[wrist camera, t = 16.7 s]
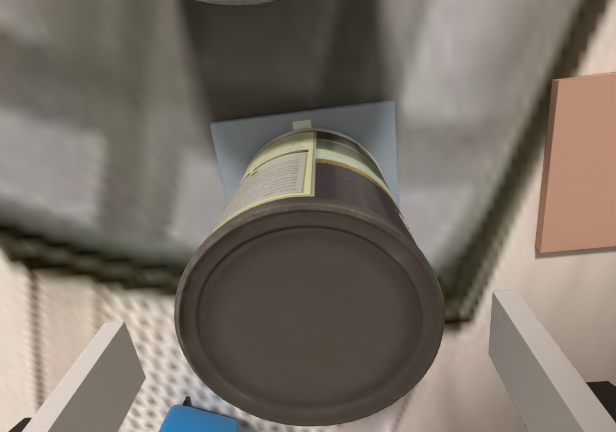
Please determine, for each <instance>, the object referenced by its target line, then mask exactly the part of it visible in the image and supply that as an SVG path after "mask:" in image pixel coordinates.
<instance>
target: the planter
mask: <svg viewBox="0 0 616 432" xmlns="http://www.w3.org/2000/svg"><path fill="white" fill-rule="evenodd" d="M196 1H201V2H207V3H213V4H222V5H255V4H262V3H267V2H271V1H275V0H196Z"/></svg>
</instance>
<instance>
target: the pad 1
mask: <svg viewBox="0 0 616 432" xmlns="http://www.w3.org/2000/svg"><path fill="white" fill-rule="evenodd" d="M210 127H211V132H212V136H213V141H214V146H215V150H216V155H217V159H218V164H219V168H220V173H221V178H222V182H223V187H224V191H225V196H226V201H227V204H228V202H229V200H230V198H231V197H232V195H233V193H234V192H235V190H236V188H237V187H238V185H239V183H240V181H241V180H242V178H243V176H244V174H245V171H246V169H247V167H248V165H249V163H250V162H251V160H252V159H253V157H254V156H255V154H256V153H257V152H258V151H259V150H260V149H261V148H262V147H263V146H265V145H266V144H267V143H268V142H270V141H271V140H273V139H275V138H277V137H278V136H280V135H282V134H285V133H287V132H290V131H293V130H298V129H304V128H323V129H328V130H333V131H337V132H340V133H342V134H344V135H347V136H349V137H351V138H353V139H354V140H356V141H357V142H359V143H360V144H361V145H362V146H364V147H365V148H366V149H367V150H368V151H369V152H370V153H371V155H372V156H373V157H374V159H375V160H376V162H377V163H378V165H379V167H380V169H381V171H382V173H383V177H384V179H385V182H386V184H387V186H388V188H389V190H390V192H391V194H392V196H393V198H394V200H395V203H396V205H397V207H398V209H399V195H398V171H397V148H396V124H395V101H393V100H386V101H378V102H370V103H362V104H354V105H346V106H338V107H330V108H322V109H314V110H306V111H298V112H290V113H282V114H273V115H265V116H257V117H249V118H241V119H233V120H225V121H217V122H212V123H211V124H210Z"/></svg>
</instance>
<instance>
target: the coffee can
mask: <svg viewBox="0 0 616 432" xmlns="http://www.w3.org/2000/svg"><path fill="white" fill-rule="evenodd" d="M174 319H175V329H176V334H177V337H178V341H179V344H180V347H181V349H182V351H183V354H184V356H185V358H186V359H187V361H188V363H189V364H190V366H191V367H192V369H193V371H194V372H195V373H196V374H197V376H198V377H199V378H200V379H201V381H202V382H204V383H205V384H206V385H207V386H208V387H209V388H210V389H211V390H212V391H213V392H214V393H215V394H217V395H218V396H220V397H221V398H222V399H223V400H225V401H226V402H228V403H230V404H232V405H233V406H235V407H237V408H239V409H240V410H242V411H245V412H247V413H249V414H251V415H254V416H256V417H259V418H262V419H265V420H268V421H272V422H277V423H281V424H287V425H295V426H327V425H336V424H342V423H347V422H352V421H355V420H358V419H362V418H365V417H368V416H370V415H372V414H374V413H377V412H379V411H380V410H382V409H384V408H386V407H388V406H390V405H392V404H393V403H394V402H396V401H397V400H399V399H400V398H401V397H403V396H404V395H405V394H407V393H408V392H409V391H410V390H411V389H412V388H413V387H414V386H415V385H416V384H417V383H418V382H419V381H420V380H421V379H422V378H423V377H424V375H425V374H426V373H427V371H428V369H429V368H430V367H431V365H432V363H433V361H434V359H435V357H436V355H437V353H438V350H439V347H440V344H441V340H442V335H443V330H444V325H445V322H444V319H445V307H444V300H443V296H442V292H441V288H440V285H439V282H438V280H437V278H436V275H435V273H434V271H433V269H432V268H431V266H430V264H429V262H428V261H427V259H426V257H425V256H424V254H423V253H422V252H421V250H420V249H419V248H418V246H417V245H416V243H415V241H414V239H413V237H412V234H411V232H410V230H409V228H408V226H407V224H406V222H405V220H404V218H403V216H402V215H401V213H400V211H399V209H398V207H397V205H396V203H395V200H394V198H393V196H392V194H391V192H390V190H389V188H388V186H387V184H386V182H385V179H384V177H383V173H382V171H381V169H380V167H379V165H378V163H377V162H376V160H375V159H374V157H373V156H372V155H371V153H370V152H369V151H368V150H367V149H366V148H365V147H364V146H362V145H361V144H360V143H359V142H357V141H356V140H354V139H353V138H351V137H349V136H347V135H344V134H342V133H340V132H337V131H333V130H328V129H323V128H304V129H298V130H293V131H290V132H287V133H285V134H282V135H280V136H278V137H277V138H275V139H273V140H271V141H270V142H268V143H267V144H266V145H265V146H263V147H262V148H261V149H260V150H259V151H258V152H257V153H256V154H255V156H254V157H253V159H252V160H251V162H250V163H249V165H248V167H247V169H246V171H245V174H244V176H243V178H242V180H241V181H240V183H239V185H238V187H237V188H236V190H235V192H234V193H233V195H232V197H231V198H230V200H229V202H228V204H227V206H226V207H225V209H224V211H223V212H222V214H221V216H220V218H219V219H218V221H217V223H216V224H215V226H214V228H213V230H212V231H211V233H210V235H209V236H208V238H207V239H206V240H205V241H204V243H203V244H202V245H201V246H200V247H199V248H198V250H197V251H196V253H195V254H194V256H193V257H192V259H191V260H190V262H189V263H188V265H187V267H186V268H185V270H184V272H183V275H182V277H181V280H180V282H179V285H178V289H177V293H176V299H175V311H174Z"/></svg>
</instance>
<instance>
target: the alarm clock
mask: <svg viewBox="0 0 616 432" xmlns="http://www.w3.org/2000/svg"><path fill="white" fill-rule="evenodd" d="M188 399H189V397H187V396H186V399H185V401H184V403H183V405H178V404H177V405H174V406H173V407H172V408H171V409H170V410H169V412H168V414H167V416H166V418H165V420H164V422H163V424H162V426H161V428H160V430H159V432H238V422H237V421H236V420H235V419H233V418H229V417H226V416H222V415H218V414H214V413H210V412H206V411H203V410H199V409H195V408H191V407H187V404H188Z"/></svg>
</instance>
